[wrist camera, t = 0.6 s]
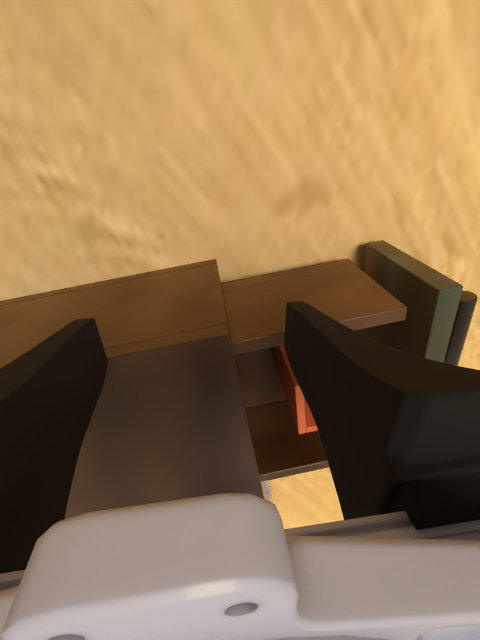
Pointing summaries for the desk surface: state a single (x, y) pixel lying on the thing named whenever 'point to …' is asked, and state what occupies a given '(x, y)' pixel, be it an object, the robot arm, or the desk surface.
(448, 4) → the desk surface
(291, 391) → the scoop
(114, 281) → the cabinet
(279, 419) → the drawer
